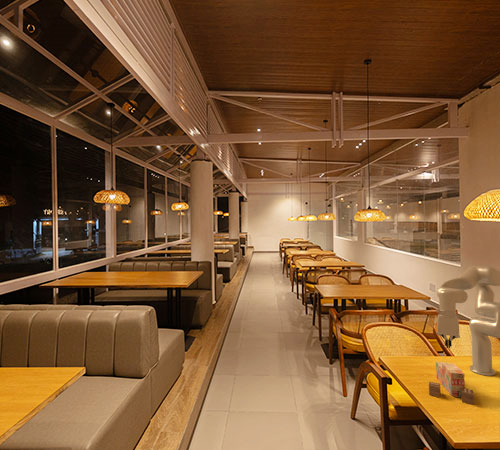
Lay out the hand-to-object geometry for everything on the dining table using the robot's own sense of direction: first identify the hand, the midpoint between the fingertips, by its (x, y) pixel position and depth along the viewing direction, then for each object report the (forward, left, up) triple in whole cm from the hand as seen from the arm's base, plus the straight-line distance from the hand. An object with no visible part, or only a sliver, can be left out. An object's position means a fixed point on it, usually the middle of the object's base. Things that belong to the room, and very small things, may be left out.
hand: (448, 347), depth 171 cm
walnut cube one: (+11, -7, -22) cm, 25 cm away
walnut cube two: (+12, +7, -22) cm, 26 cm away
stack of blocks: (-1, 0, -22) cm, 22 cm away
